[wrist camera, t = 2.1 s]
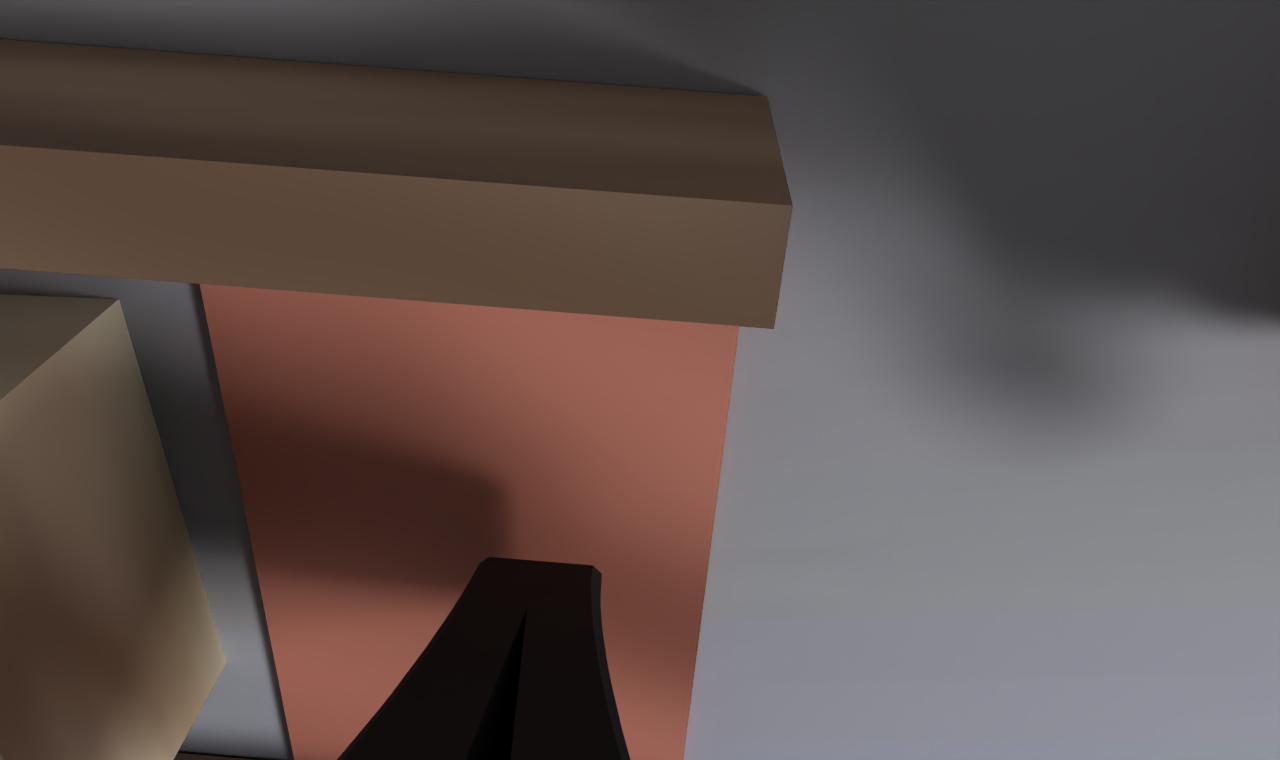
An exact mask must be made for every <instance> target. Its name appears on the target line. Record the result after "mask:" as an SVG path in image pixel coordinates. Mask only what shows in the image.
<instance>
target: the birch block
mask: <svg viewBox="0 0 1280 760" xmlns="http://www.w3.org/2000/svg"><path fill="white" fill-rule="evenodd" d="M225 665H226V659H225V656H224V653H223V649H222V646H221V642H220V639H219V636H218V632H217V629H216V625H215V622H214V619H213V615H212V612H211V609H210V605H209V602H208V598H207V595H206V592H205V588H204V585H203V582H202V578H201V575H200V571H199V568H198V565H197V561H196V558H195V554H194V551H193V548H192V544H191V541H190V538H189V534H188V531H187V527H186V524H185V521H184V517H183V514H182V510H181V507H180V504H179V500H178V497H177V494H176V490H175V487H174V483H173V480H172V477H171V473H170V470H169V467H168V463H167V460H166V456H165V453H164V450H163V446H162V443H161V439H160V436H159V433H158V429H157V426H156V423H155V419H154V416H153V412H152V409H151V406H150V402H149V399H148V396H147V392H146V389H145V385H144V382H143V379H142V375H141V372H140V368H139V365H138V362H137V358H136V355H135V352H134V348H133V345H132V341H131V338H130V335H129V331H128V328H127V324H126V321H125V318H124V314H123V311H122V308H121V304H120V301H119V299H107V298H82V297H57V296H32V295H7V294H0V760H174V758H175V756H176V754H177V752H178V751H179V749H180V747H181V745H182V743H183V741H184V740H185V738H186V736H187V734H188V732H189V731H190V729H191V727H192V725H193V723H194V721H195V720H196V718H197V716H198V714H199V712H200V710H201V709H202V707H203V705H204V703H205V701H206V700H207V698H208V696H209V694H210V692H211V690H212V689H213V687H214V685H215V683H216V681H217V680H218V678H219V676H220V674H221V672H222V670H223V669H224V667H225Z"/></svg>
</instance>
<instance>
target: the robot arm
mask: <svg viewBox="0 0 1280 760" xmlns="http://www.w3.org/2000/svg"><path fill="white" fill-rule="evenodd" d="M601 583H602V573H601V572H599V571H598V570H597V569H596V568H595V567H594V566H593V565H583V564H571V563H559V562H547V561H535V560H522V559H510V558H498V557H488V558H486V559H485V560H484V561H482V562H481V563H479V565H478V567H477V569H476V571H475V572H474V574H473V576H472V578H471V579H470V581H469V583H468V584H467V586H466V588H465V589H464V591H463V593H462V594H461V596H460V598H459V599H458V601H457V602H456V604H455V605H454V607H453V609H452V610H451V612H450V613H449V615H448V616H447V618H446V619H445V621H444V622H443V623H442V625H441V626H440V628H439V629H438V631H437V632H436V634H435V635H434V637H433V638H432V639H431V641H430V642H429V644H428V645H427V647H426V648H425V649H424V651H423V652H422V653H421V655H420V656H419V657H418V659H417V660H416V661H415V663H414V664H413V665H412V667H411V668H410V669H409V671H408V672H407V673H406V675H405V676H404V677H403V679H402V680H401V682H400V683H399V684H398V686H397V687H396V688H395V690H394V691H393V692H392V694H391V695H390V696H389V697H388V699H387V700H386V701H385V702H384V704H383V705H382V706H381V707H380V709H379V710H378V711H377V712H376V713H375V715H374V716H373V717H372V718H371V719H370V721H369V722H368V723H367V724H366V725H365V727H364V728H363V729H362V730H361V731H360V733H359V734H358V735H357V736H356V737H355V739H354V740H353V741H352V742H351V743H350V745H349V746H348V747H347V748H346V749H345V751H344V752H343V753H342V754H341V755H340V756H339V758H338V759H337V760H630V756H629V753H628V749H627V745H626V742H625V738H624V734H623V731H622V727H621V722H620V718H619V714H618V709H617V705H616V701H615V696H614V692H613V688H612V684H611V679H610V674H609V668H608V663H607V657H606V650H605V643H604V637H603V629H602V619H601V603H600V602H601Z"/></svg>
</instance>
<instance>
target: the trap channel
mask: <svg viewBox="0 0 1280 760" xmlns="http://www.w3.org/2000/svg"><path fill="white" fill-rule="evenodd" d="M791 212H792V201H791V197H790V193H789V189H788V184H787V180H786V176H785V171H784V167H783V163H782V159H781V154H780V150H779V146H778V141H777V137H776V133H775V129H774V124H773V120H772V116H771V112H770V107H769V103H768V99H767V96H755V95H742V94H729V93H715V92H702V91H689V90H675V89H662V88H649V87H635V86H622V85H609V84H595V83H582V82H569V81H555V80H542V79H529V78H515V77H502V76H489V75H475V74H462V73H449V72H435V71H422V70H409V69H395V68H382V67H369V66H355V65H342V64H329V63H315V62H302V61H288V60H275V59H262V58H248V57H235V56H222V55H208V54H195V53H182V52H168V51H155V50H142V49H128V48H115V47H102V46H88V45H75V44H62V43H48V42H35V41H22V40H8V39H0V268H5V269H17V270H30V271H43V272H56V273H68V274H81V275H94V276H107V277H119V278H132V279H145V280H158V281H170V282H183V283H196V284H200V288H201V293H202V298H203V303H204V308H205V313H206V318H207V323H208V328H209V333H210V338H211V344H212V349H213V354H214V359H215V364H216V369H217V374H218V379H219V384H220V389H221V394H222V399H223V404H224V409H225V414H226V419H227V424H228V429H229V434H230V439H231V444H232V449H233V454H234V459H235V464H236V469H237V474H238V479H239V484H240V490H241V495H242V500H243V505H244V510H245V515H246V520H247V525H248V530H249V535H250V540H251V545H252V550H253V555H254V560H255V565H256V570H257V575H258V580H259V585H260V590H261V595H262V600H263V605H264V610H265V615H266V620H267V625H268V630H269V636H270V641H271V646H272V651H273V656H274V661H275V666H276V671H277V676H278V681H279V686H280V691H281V696H282V701H283V706H284V711H285V716H286V721H287V726H288V731H289V736H290V741H291V746H292V751H293V756H294V760H337V759H338V758H339V756H340V755H341V754H342V753H343V752H344V751H345V749H346V748H347V747H348V746H349V745H350V743H351V742H352V741H353V740H354V739H355V737H356V736H357V735H358V734H359V733H360V731H361V730H362V729H363V728H364V727H365V725H366V724H367V723H368V722H369V721H370V719H371V718H372V717H373V716H374V715H375V713H376V712H377V711H378V710H379V709H380V707H381V706H382V705H383V704H384V702H385V701H386V700H387V699H388V697H389V696H390V695H391V694H392V692H393V691H394V690H395V688H396V687H397V686H398V684H399V683H400V682H401V680H402V679H403V677H404V676H405V675H406V673H407V672H408V671H409V669H410V668H411V667H412V665H413V664H414V663H415V661H416V660H417V659H418V657H419V656H420V655H421V653H422V652H423V651H424V649H425V648H426V647H427V645H428V644H429V642H430V641H431V639H432V638H433V637H434V635H435V634H436V632H437V631H438V629H439V628H440V626H441V625H442V623H443V622H444V621H445V619H446V618H447V616H448V615H449V613H450V612H451V610H452V609H453V607H454V605H455V604H456V602H457V601H458V599H459V598H460V596H461V594H462V593H463V591H464V589H465V588H466V586H467V584H468V583H469V581H470V579H471V578H472V576H473V574H474V572H475V571H476V569H477V567H478V565H479V563H481V562H482V561H484V560H485V559H486V558H488V557H498V558H510V559H522V560H535V561H547V562H559V563H571V564H583V565H593V566H594V567H595V568H596V569H597V570H598V571H599V572H601V573H602V583H601V602H600V603H601V619H602V629H603V637H604V643H605V650H606V657H607V663H608V668H609V674H610V679H611V684H612V688H613V692H614V696H615V701H616V705H617V709H618V714H619V718H620V722H621V727H622V731H623V734H624V738H625V742H626V745H627V749H628V753H629V756H630V760H683V756H684V748H685V740H686V732H687V725H688V717H689V709H690V702H691V694H692V686H693V678H694V671H695V663H696V655H697V648H698V640H699V632H700V624H701V617H702V609H703V601H704V594H705V586H706V578H707V570H708V563H709V555H710V547H711V539H712V532H713V524H714V516H715V509H716V501H717V493H718V485H719V478H720V470H721V462H722V455H723V447H724V439H725V431H726V424H727V416H728V408H729V401H730V393H731V385H732V377H733V370H734V362H735V354H736V347H737V339H738V331H739V326H744V327H757V328H769V329H774V325H775V318H776V312H777V305H778V298H779V292H780V285H781V278H782V272H783V265H784V259H785V252H786V245H787V239H788V232H789V226H790V219H791ZM174 760H253V759H242V758H230V757H218V756H207V755H195V754H183V753H177V754H176V756H175V758H174Z"/></svg>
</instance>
